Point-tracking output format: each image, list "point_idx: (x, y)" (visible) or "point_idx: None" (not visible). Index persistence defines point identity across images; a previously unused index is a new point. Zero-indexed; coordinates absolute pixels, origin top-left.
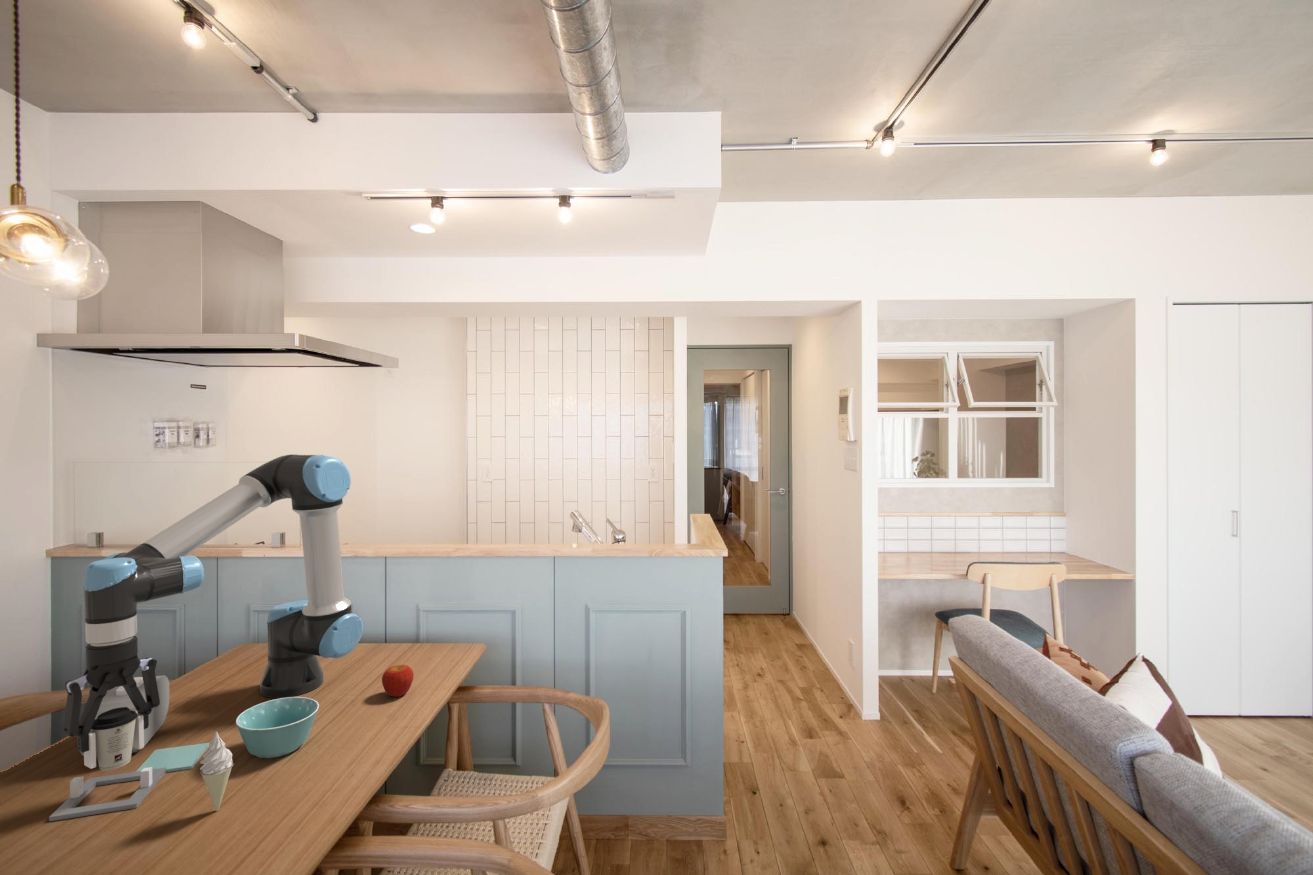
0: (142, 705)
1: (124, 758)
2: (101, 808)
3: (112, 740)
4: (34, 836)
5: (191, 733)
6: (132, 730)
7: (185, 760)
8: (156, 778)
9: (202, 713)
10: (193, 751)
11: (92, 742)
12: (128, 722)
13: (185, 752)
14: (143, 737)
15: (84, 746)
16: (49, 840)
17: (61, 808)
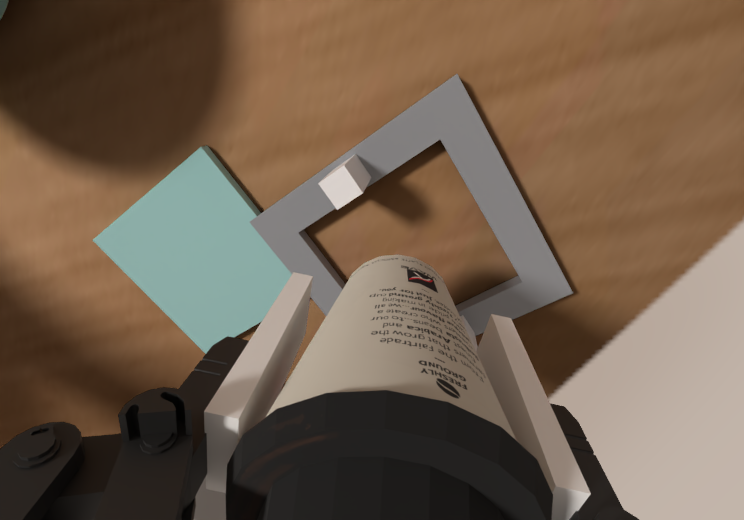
0: (142, 517)
1: (393, 267)
2: (506, 179)
3: (465, 352)
4: (646, 248)
5: (104, 349)
6: (330, 343)
7: (193, 206)
8: (308, 185)
9: (43, 410)
10: (149, 238)
11: (550, 425)
12: (369, 394)
13: (167, 256)
14: (276, 301)
15: (567, 435)
16: (670, 178)
17: (524, 304)
